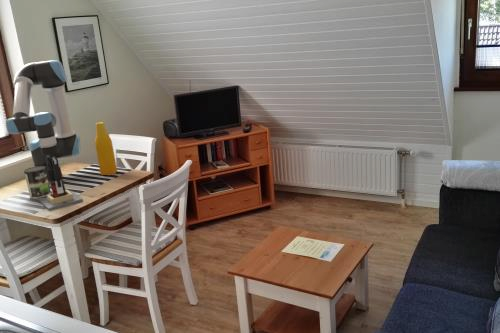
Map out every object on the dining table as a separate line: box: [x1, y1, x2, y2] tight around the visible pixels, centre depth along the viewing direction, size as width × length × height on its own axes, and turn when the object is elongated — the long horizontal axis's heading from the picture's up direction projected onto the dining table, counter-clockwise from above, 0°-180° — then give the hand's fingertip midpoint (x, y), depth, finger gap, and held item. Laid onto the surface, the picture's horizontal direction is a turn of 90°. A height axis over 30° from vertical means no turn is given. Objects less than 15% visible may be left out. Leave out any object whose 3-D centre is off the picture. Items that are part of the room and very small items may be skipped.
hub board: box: [38, 188, 84, 212], centre depth 251 cm, size 18×16×4 cm
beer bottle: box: [94, 121, 118, 176], centre depth 287 cm, size 9×9×29 cm
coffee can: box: [23, 166, 52, 199], centre depth 263 cm, size 10×10×14 cm
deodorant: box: [47, 166, 66, 198], centre depth 249 cm, size 6×6×15 cm
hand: (58, 191), depth 250 cm, fingers closed on deodorant, 6 cm apart
